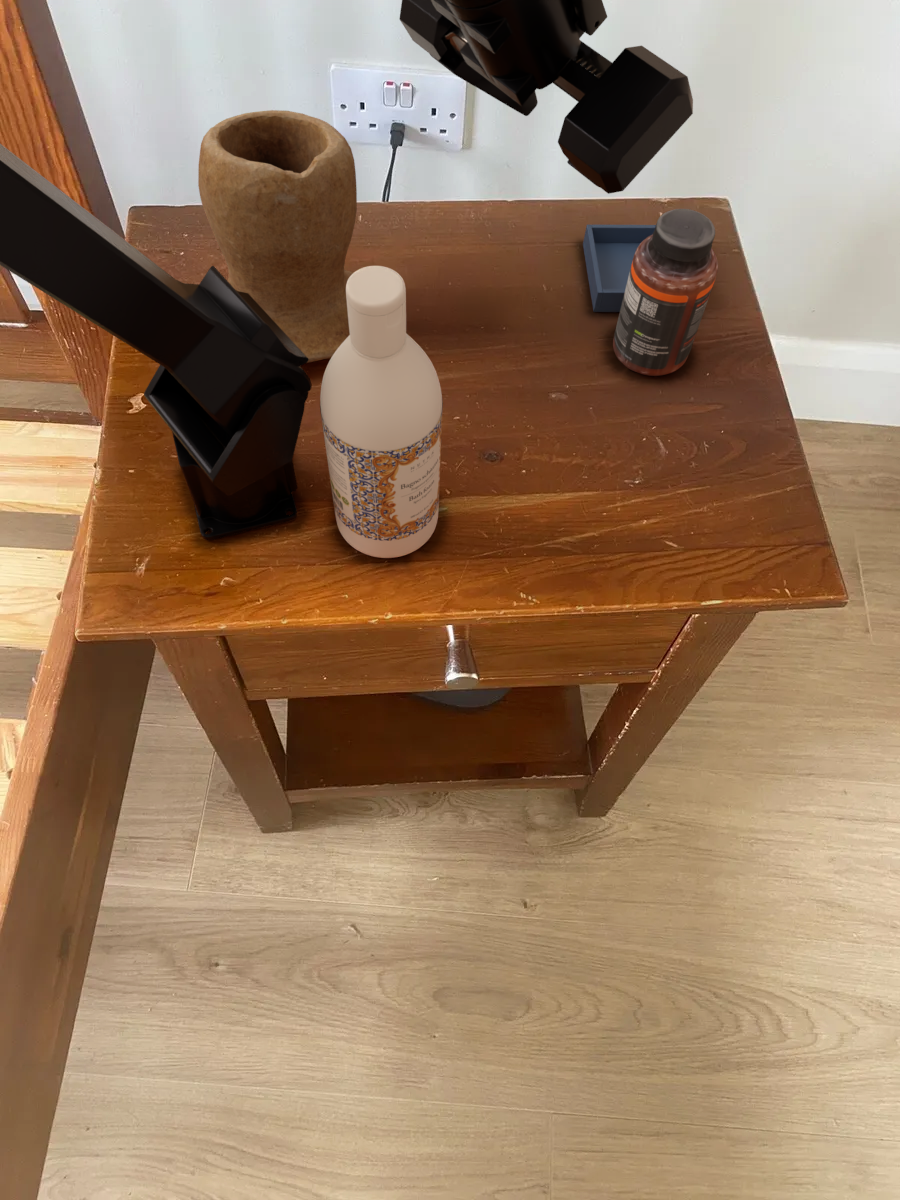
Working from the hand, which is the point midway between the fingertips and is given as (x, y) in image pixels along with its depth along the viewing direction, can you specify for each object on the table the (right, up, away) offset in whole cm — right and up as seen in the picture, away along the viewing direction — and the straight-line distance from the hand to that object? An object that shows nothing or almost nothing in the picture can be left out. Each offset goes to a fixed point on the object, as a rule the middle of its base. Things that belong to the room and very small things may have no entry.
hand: (577, 144), depth 57 cm
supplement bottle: (+7, -10, +12) cm, 17 cm away
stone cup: (-21, -8, +12) cm, 26 cm away
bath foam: (-12, -24, +4) cm, 27 cm away
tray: (+7, -3, +16) cm, 18 cm away
